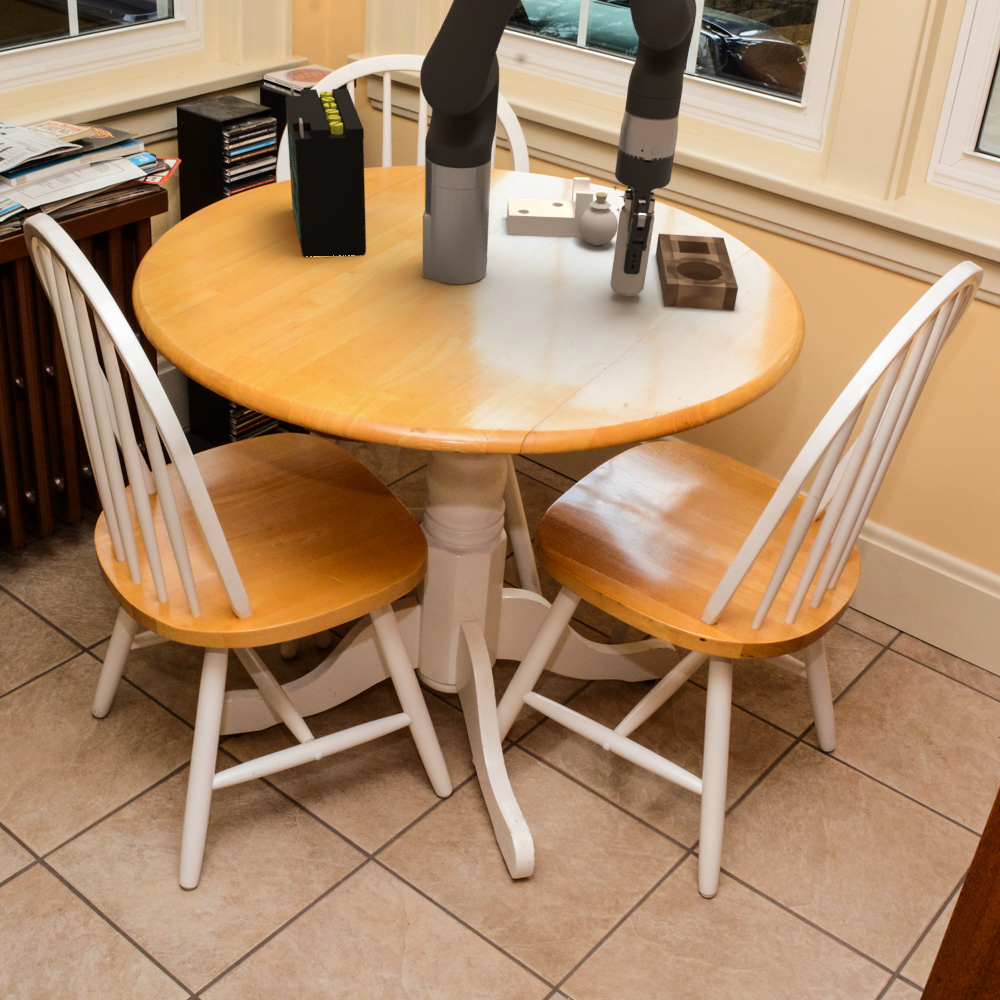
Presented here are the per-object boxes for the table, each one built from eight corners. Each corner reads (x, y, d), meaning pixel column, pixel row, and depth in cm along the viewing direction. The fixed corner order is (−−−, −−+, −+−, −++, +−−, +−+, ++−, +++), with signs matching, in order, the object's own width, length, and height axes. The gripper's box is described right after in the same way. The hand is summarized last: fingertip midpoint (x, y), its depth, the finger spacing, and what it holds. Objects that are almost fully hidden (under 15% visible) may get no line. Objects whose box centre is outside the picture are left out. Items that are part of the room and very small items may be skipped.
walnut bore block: (664, 306, 160) (667, 283, 158) (655, 254, 175) (658, 233, 172) (733, 310, 160) (738, 288, 158) (719, 258, 174) (723, 237, 172)
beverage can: (641, 299, 159) (653, 218, 152) (607, 294, 159) (618, 213, 152) (644, 285, 163) (657, 206, 156) (612, 280, 163) (622, 201, 156)
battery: (292, 209, 182) (284, 84, 171) (351, 207, 184) (347, 83, 173) (302, 258, 167) (294, 124, 156) (366, 255, 169) (363, 122, 158)
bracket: (585, 222, 185) (589, 177, 180) (588, 239, 179) (593, 193, 175) (506, 219, 184) (509, 174, 180) (507, 236, 178) (510, 190, 174)
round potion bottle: (578, 234, 180) (584, 173, 174) (624, 238, 179) (631, 177, 173) (576, 249, 175) (582, 187, 169) (624, 253, 174) (631, 191, 168)
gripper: (616, 126, 154) (602, 242, 165) (620, 162, 143) (605, 284, 153) (671, 131, 154) (653, 246, 164) (679, 166, 143) (659, 289, 153)
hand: (630, 264), depth 159 cm, fingers closed on beverage can, 4 cm apart
